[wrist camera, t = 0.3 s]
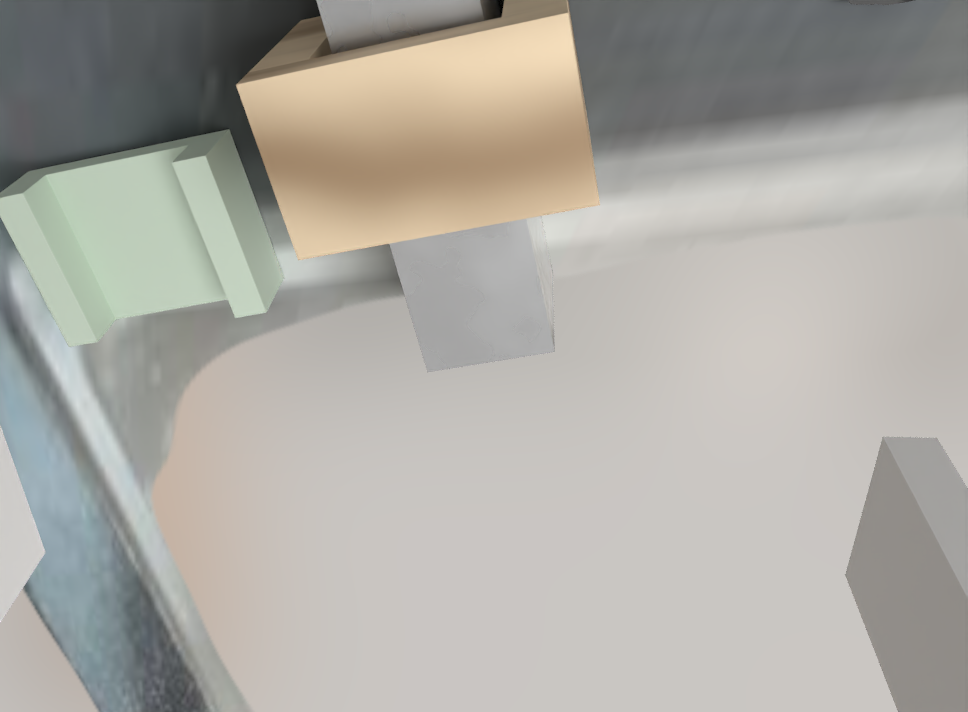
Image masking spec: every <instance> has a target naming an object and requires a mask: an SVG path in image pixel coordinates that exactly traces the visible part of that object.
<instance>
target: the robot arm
mask: <svg viewBox="0 0 968 712" xmlns="http://www.w3.org/2000/svg"><path fill="white" fill-rule="evenodd" d="M44 554H45V549H44V547H43V544H42V541H41V538H40V535H39V533H38V530H37V527H36V524H35V521H34V519H33V516H32V513H31V510H30V507H29V505H28V502H27V499H26V496H25V493H24V490H23V488H22V485H21V482H20V479H19V476H18V474H17V471H16V468H15V465H14V462H13V460H12V457H11V454H10V451H9V448H8V446H7V443H6V440H5V437H4V434H3V431H2V429H1V426H0V623H1V621H2V620H3V618H4V617H5V615H6V613H7V611H8V610H9V609H10V607H11V606H12V604H13V602H14V601H15V599H16V598H17V596H18V595H19V593H20V591H21V590H22V588H23V587H24V585H25V584H26V582H27V581H28V579H29V577H30V576H31V574H32V573H33V571H34V570H35V568H36V566H37V565H38V563H39V562H40V560H41V559H42V557H43V555H44ZM845 575H846V578H847V580H848V583H849V586H850V588H851V591H852V594H853V596H854V598H855V601H856V604H857V606H858V609H859V612H860V614H861V617H862V619H863V622H864V624H865V627H866V630H867V632H868V635H869V638H870V640H871V643H872V645H873V648H874V650H875V653H876V655H877V658H878V660H879V663H880V666H881V668H882V671H883V673H884V676H885V679H886V681H887V684H888V687H889V689H890V692H891V694H892V697H893V700H894V702H895V705H896V707H897V710H898V712H968V488H967V486H966V485H965V483H964V482H963V480H962V478H961V477H960V475H959V473H958V472H957V470H956V468H955V467H954V465H953V463H952V462H951V460H950V458H949V457H948V455H947V453H946V452H945V450H944V449H943V447H942V446H941V444H940V442H939V440H938V439H937V438H911V437H883V438H882V442H881V446H880V450H879V453H878V457H877V461H876V464H875V468H874V472H873V475H872V479H871V483H870V486H869V490H868V494H867V497H866V501H865V505H864V508H863V512H862V516H861V519H860V523H859V527H858V530H857V534H856V538H855V541H854V545H853V549H852V553H851V556H850V560H849V564H848V567H847V571H846V574H845Z"/></svg>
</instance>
